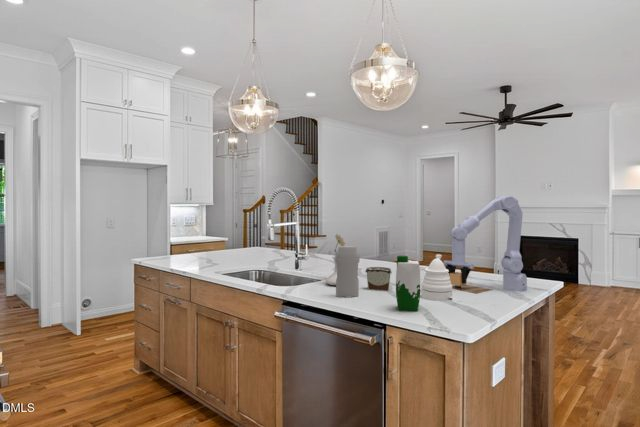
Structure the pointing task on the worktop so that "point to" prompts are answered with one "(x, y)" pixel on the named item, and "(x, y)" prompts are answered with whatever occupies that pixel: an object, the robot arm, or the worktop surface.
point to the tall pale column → (347, 271)
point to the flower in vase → (333, 277)
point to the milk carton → (407, 284)
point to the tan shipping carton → (456, 278)
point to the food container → (378, 278)
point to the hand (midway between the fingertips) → (458, 282)
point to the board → (471, 289)
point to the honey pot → (436, 281)
